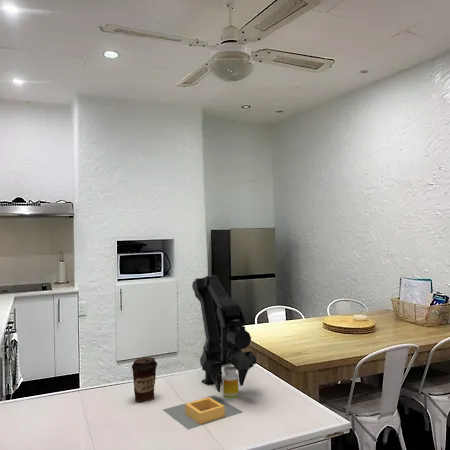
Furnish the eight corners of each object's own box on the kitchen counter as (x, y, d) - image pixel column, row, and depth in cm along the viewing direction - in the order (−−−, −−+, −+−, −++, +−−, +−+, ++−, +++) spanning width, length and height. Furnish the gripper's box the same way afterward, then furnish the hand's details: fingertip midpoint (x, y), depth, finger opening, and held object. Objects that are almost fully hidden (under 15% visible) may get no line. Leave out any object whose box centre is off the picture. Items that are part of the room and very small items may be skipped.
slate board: (162, 411, 127) (162, 409, 127) (214, 397, 138) (214, 395, 138) (188, 431, 114) (188, 429, 114) (243, 414, 125) (243, 412, 125)
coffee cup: (160, 402, 134) (160, 362, 135) (134, 406, 131) (134, 365, 132) (154, 393, 142) (154, 355, 143) (130, 396, 139) (129, 357, 140)
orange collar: (185, 413, 124) (185, 403, 124) (209, 406, 129) (209, 397, 129) (200, 424, 117) (199, 413, 117) (224, 416, 122) (224, 406, 122)
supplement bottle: (241, 398, 137) (241, 368, 137) (226, 401, 134) (226, 371, 135) (234, 393, 142) (233, 364, 142) (219, 395, 139) (219, 366, 140)
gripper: (220, 351, 127) (220, 403, 126) (266, 342, 137) (267, 389, 137) (201, 344, 136) (201, 392, 135) (246, 335, 146) (246, 380, 146)
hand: (230, 388), depth 138 cm, fingers open, 9 cm apart
